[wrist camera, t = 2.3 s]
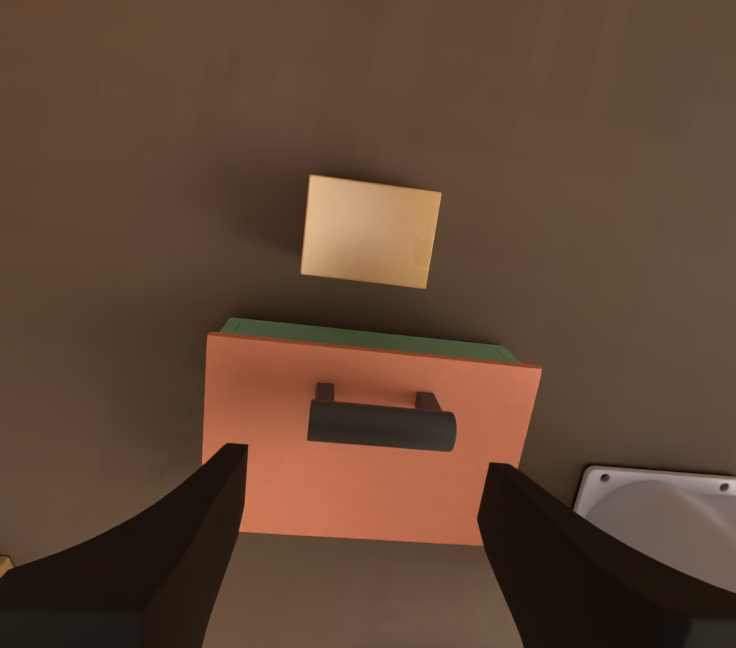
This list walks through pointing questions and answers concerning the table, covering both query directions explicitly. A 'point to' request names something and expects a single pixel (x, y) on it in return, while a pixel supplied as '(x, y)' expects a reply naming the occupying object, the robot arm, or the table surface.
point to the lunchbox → (366, 339)
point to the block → (368, 231)
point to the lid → (363, 435)
